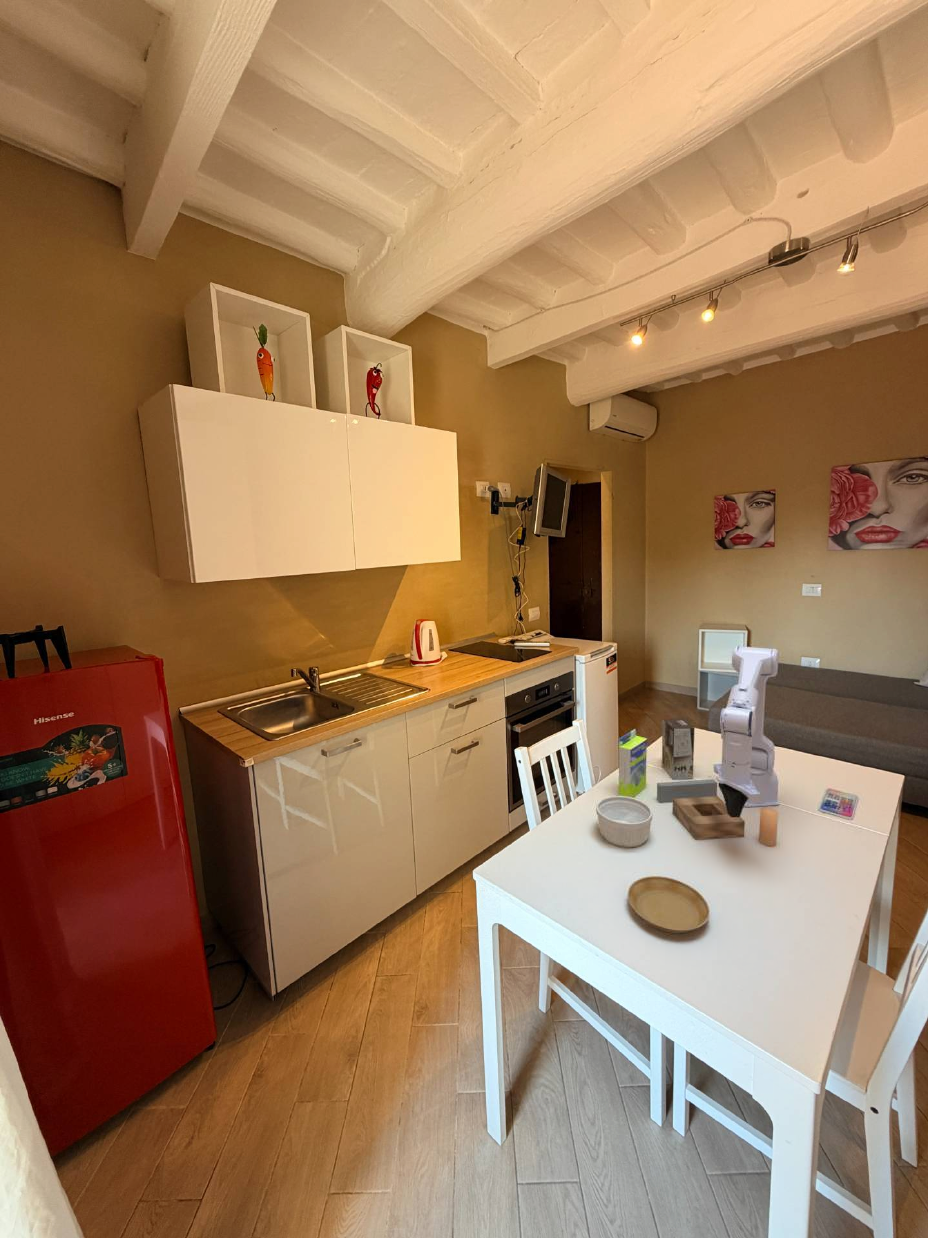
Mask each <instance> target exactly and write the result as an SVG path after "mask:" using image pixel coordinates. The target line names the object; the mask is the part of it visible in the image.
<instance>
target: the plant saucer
mask: <svg viewBox="0 0 928 1238" xmlns="http://www.w3.org/2000/svg"><path fill="white" fill-rule="evenodd" d="M627 898H628V903H629V904H630V906H631V908H632V909H633V911H635V913H636V914H637V915H638V916H639V917H640V918H641V919H642V920H643V921H644V922H646V923H647V924H648V925H650V926H651V927H653V928H655V929H658V930H660V931H661V932H665V933H666V932H667V933H670V934H671V933H673V934H686V933H690V932H693V931H695V930H697V929H699V928H701V927H702V926H704V925H705V924H706V922H708V919H709V918H710V907H709V904H708V902H707V900H706V899H705V898H704V896H703V895H702V894H701V893H700V892H699V891H698V890H696V889H695V888H694V887H692V886H690V885H688V884H687V883H685V882H682V881H681V880H678V879H674V878H671V877H668V876H659V875H658V876H657V875H656V876H655V875H654V876H653V875H652V876H646V877H645V876H644V877H642V878H639V879H637V880H635V881H634V882H633V883H631V884H630V885H629V888H628V891H627Z"/></svg>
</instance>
